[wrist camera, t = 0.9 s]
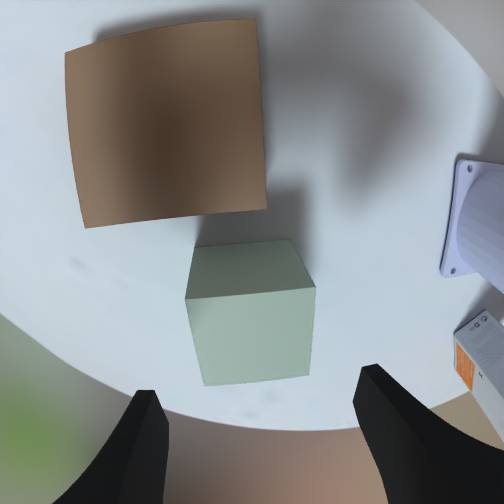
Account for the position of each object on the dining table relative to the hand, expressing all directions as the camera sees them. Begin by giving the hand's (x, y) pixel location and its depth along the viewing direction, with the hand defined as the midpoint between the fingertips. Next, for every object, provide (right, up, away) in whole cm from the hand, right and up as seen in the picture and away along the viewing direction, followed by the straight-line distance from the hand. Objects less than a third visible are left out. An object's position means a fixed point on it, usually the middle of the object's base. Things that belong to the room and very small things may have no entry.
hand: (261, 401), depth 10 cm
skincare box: (+20, -3, +12) cm, 23 cm away
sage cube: (-1, +3, +7) cm, 8 cm away
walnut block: (-4, +11, +4) cm, 13 cm away
